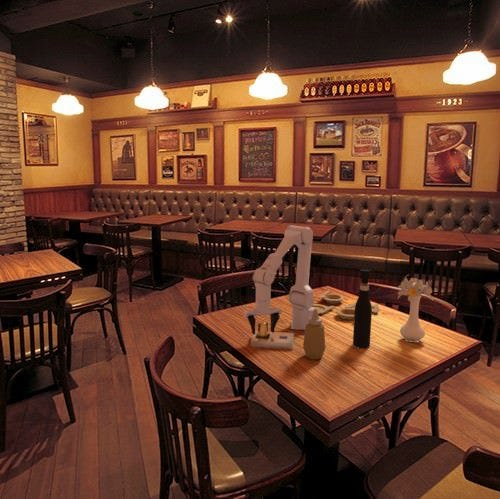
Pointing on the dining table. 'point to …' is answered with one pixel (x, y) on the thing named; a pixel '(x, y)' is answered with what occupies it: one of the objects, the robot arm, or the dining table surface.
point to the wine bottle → (363, 313)
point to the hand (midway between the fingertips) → (262, 332)
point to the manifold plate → (274, 340)
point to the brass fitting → (262, 330)
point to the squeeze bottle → (314, 337)
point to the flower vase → (413, 308)
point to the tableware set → (343, 312)
